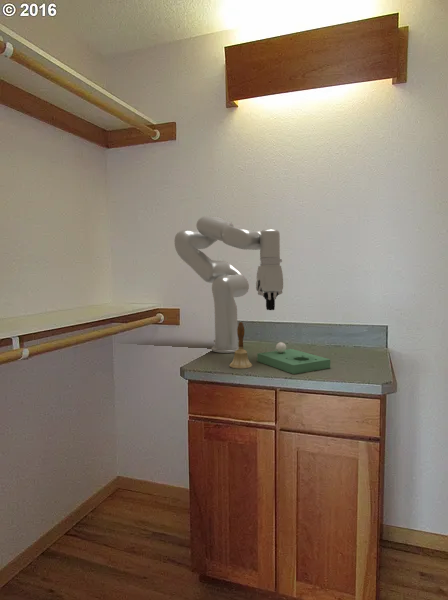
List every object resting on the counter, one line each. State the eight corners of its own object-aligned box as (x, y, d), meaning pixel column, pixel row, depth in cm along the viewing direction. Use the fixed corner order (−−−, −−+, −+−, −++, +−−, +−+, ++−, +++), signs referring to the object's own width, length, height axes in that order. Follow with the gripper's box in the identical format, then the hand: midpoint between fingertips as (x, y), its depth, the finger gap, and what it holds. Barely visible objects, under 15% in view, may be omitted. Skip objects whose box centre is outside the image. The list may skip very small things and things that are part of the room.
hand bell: (256, 364, 158) (255, 321, 157) (245, 369, 151) (245, 324, 150) (236, 362, 162) (235, 320, 161) (225, 367, 155) (224, 323, 154)
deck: (257, 361, 164) (257, 353, 163) (291, 356, 171) (291, 348, 171) (293, 374, 144) (293, 365, 144) (330, 367, 152) (330, 359, 152)
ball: (273, 352, 164) (273, 342, 164) (282, 351, 166) (282, 341, 166) (279, 354, 161) (279, 343, 161) (288, 353, 163) (288, 342, 162)
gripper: (280, 262, 174) (280, 307, 175) (248, 262, 166) (248, 310, 168) (291, 261, 167) (291, 309, 169) (258, 262, 160) (259, 312, 161)
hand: (270, 309), depth 168 cm, fingers closed
